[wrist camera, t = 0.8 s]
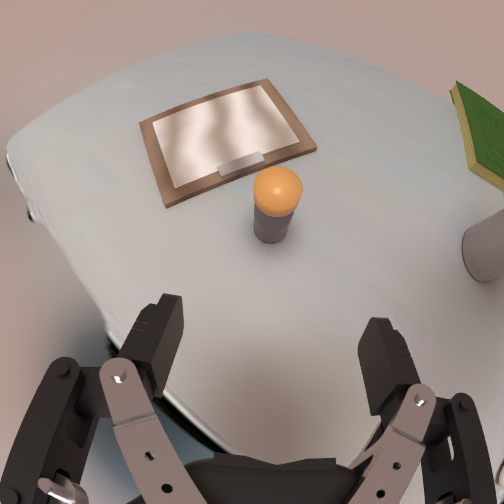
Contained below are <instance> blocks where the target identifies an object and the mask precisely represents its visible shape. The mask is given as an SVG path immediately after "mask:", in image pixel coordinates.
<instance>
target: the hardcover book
mask: <svg viewBox="0 0 504 504" xmlns="http://www.w3.org/2000/svg"><path fill="white" fill-rule="evenodd" d="M450 94H451V97H452V101H453V104H454V105H455V106H456V110H457V114H458V118H459V122H460V126H461V131H462V136H463V141H464V146H465V152H466V158H467V164H468V169H469V170H470V171H472V172H474V173H476V174H477V175H479V176H481V177H482V178H484V179H485V180H487V181H489V182H490V183H492V184H493V185H495V186H497V187H498V188H500V189H501V190H503V191H504V113H503V112H502V111H500V110H499V109H498V108H496V107H495V106H494V105H492V104H491V103H490V102H488V101H487V100H485V99H484V98H483V97H481V96H480V95H478V94H477V93H475V92H474V91H472V90H471V89H469V88H467V87H466V86H464V85H463V84H461V83H459V82H458V81H456V85H455V86H454V88H453V89H452V90H450Z"/></svg>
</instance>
